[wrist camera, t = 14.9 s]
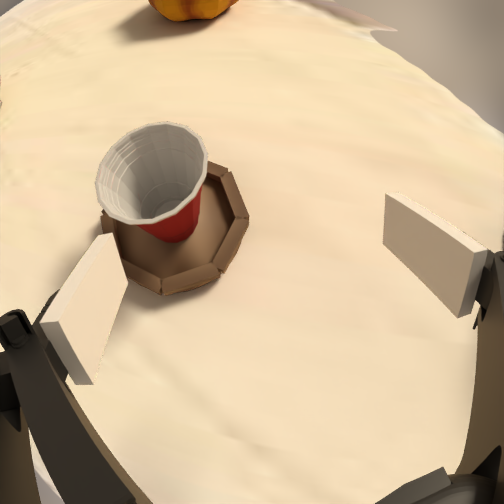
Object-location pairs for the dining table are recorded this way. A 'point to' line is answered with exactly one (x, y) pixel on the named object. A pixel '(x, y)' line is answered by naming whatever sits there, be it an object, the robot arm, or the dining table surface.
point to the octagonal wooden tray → (194, 247)
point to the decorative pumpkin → (191, 8)
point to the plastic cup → (155, 180)
